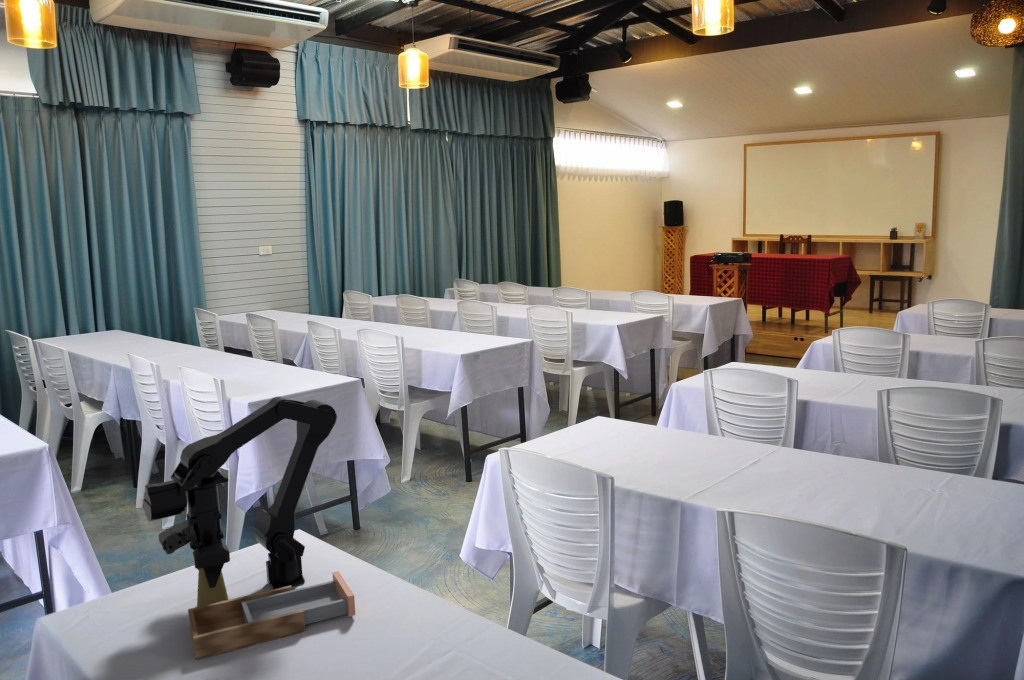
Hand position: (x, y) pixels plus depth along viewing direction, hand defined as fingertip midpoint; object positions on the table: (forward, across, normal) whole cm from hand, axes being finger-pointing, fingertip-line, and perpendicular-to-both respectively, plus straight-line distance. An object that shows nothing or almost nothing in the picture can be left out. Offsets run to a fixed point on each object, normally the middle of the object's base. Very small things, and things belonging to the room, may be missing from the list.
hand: (211, 582), depth 156 cm
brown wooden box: (+5, +14, +5) cm, 16 cm away
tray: (+4, +14, +14) cm, 20 cm away
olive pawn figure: (+5, 0, 0) cm, 5 cm away
